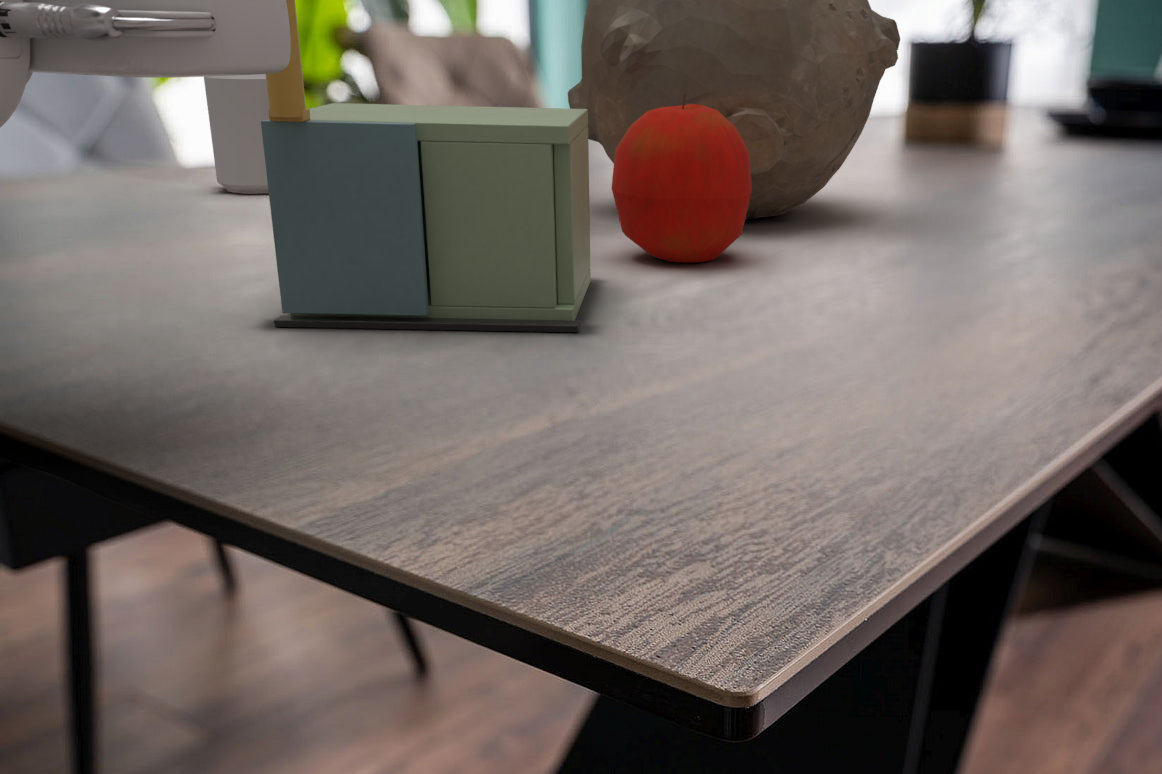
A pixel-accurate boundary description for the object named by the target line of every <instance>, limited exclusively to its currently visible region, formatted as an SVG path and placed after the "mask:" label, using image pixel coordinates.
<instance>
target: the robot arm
mask: <svg viewBox="0 0 1162 774" xmlns="http://www.w3.org/2000/svg"><path fill="white" fill-rule="evenodd" d="M290 54H291V37H290V25H289V16H288V9H287V3H286V0H0V129H1V128H2V127H3V126H5V124H6V123H7V122H8V121H9V120H10V118H11V117H12V115H13V114H14V113H15V111H16V110H17V108H18V106H19V104H20V102H21V100H22V97H23V95H24V93H25V90H26V87H27V85H28V83H29V81H30V79H31V78H32V75H33V73H38V74H39V73H40V74H58V75H77V76H78V75H80V76H99V77H100V76H101V77H119V78H121V77H122V78H153V79H154V78H155V79H156V78H159V79H161V78H163V79H164V78H167V79H168V78H169V79H171V78H204V77H206V76H233V75H256V74H271V73H277V72H280V71H282V70H284V69H285V68H286V67H287V66H288V64H289V61H290Z"/></svg>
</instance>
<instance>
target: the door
mask: <svg viewBox="0 0 1162 774" xmlns="http://www.w3.org/2000/svg"><path fill="white" fill-rule="evenodd" d="M286 3H287V9H288V16H289V25H290V37H291V54H290V61H289V64H288V66H287V67H286V68H285V69H284V70H282V71H280V72H277V73H271V74H266V83H267V92H268V101H269V110H268V112H269V120H261V129H262V138H263V146H264V155H265V164H266V173H267V182H268V190H269V193H268V198H269V207H270V208H269V209H270V215H271V216H270V217H271V224H272V233H273V241H274V242H273V243H274V252H275V260H276V268H277V269H276V270H277V277H278V285H279V295H280V296H279V297H280V304H281V305H280V306H281V313H282V314H290V313H294V314H347V315H400V316H427V315H428V314H429V307H428V292H427V277H426V263H425V248H424V233H423V218H422V203H421V189H420V174H419V159H418V144H417V130H416V123H389V122H346V121H308V120H310V110H309V109H310V108H307V105H306V95H305V87H304V76H303V67H302V57H301V55H302V54H301V47H300V46H301V45H300V35H299V25H298V17H297V7H296V5H297V4H296V0H286Z"/></svg>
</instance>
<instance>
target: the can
mask: <svg viewBox="0 0 1162 774" xmlns="http://www.w3.org/2000/svg"><path fill="white" fill-rule="evenodd" d="M203 81H204V83H203V84H204V89H205V91H204V92H205V97H206V98H205V99H206V104H207V112H208V120H209V129H210V136H211V144H212V145H211V146H212V152H213V153H212V154H213V159H214V160H213V161H214V168H215V175H216V182H217V183H218V184H219V185H221V187H223V188H224V189H226V191H227V192H229V193H233V194H243V195H265V194H268V195H269V190H268V182H267V173H266V164H265V155H264V146H263V138H262V129H261V120H269V112H268V110H269V101H268V92H267V83H266V74H256V75H233V76H206V77H203Z"/></svg>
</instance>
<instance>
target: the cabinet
mask: <svg viewBox="0 0 1162 774" xmlns="http://www.w3.org/2000/svg"><path fill="white" fill-rule="evenodd" d="M308 109H309V110H310V120H308V121H346V122H389V123H416V130H417V144H418V159H419V174H420V189H421V203H422V218H423V233H424V248H425V263H426V277H427V292H428V307H429V314H428V315H427V316H400V315H347V314H294V313H289V314H281V315H279V316H278V317H276V318H275V319H273V324H274V327H275V328H308V329H309V328H311V329H312V328H313V329H314V328H316V329H317V328H318V329H367V330H368V329H369V330H372V329H373V330H419V331H420V330H425V331H427V330H429V331H471V332H472V331H475V332H476V331H478V332H479V331H480V332H482V331H483V332H487V331H488V332H525V333H526V332H527V333H528V332H529V333H530V332H532V333H533V332H534V333H578V332H579V330H580V327H581V323H580V322H581V321H580V320H576V319H577V317H578V314H579V311H580V309H581V306H582V304H583V302H584V300H585V297H586V294H587V291H588V289H589V287H590V283H591V279H592V277H591V274H592V273H591V221H590V220H591V218H590V217H591V214H590V159H589V158H590V156H589V155H590V154H589V150H590V149H589V139H588V126H587V125H588V110H587V109H570V108H562V107H561V108H560V107H559V108H557V107H553V108H552V107H520V106H519V107H518V106H517V107H516V106H515V107H513V106H478V105H477V106H471V105H433V104H432V105H431V104H391V103H390V104H388V103H347V102H346V103H345V102H343V103H342V102H331V103H328V104H324V105H323V104H322V105H319V106H315V107H312V108H308Z"/></svg>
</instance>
